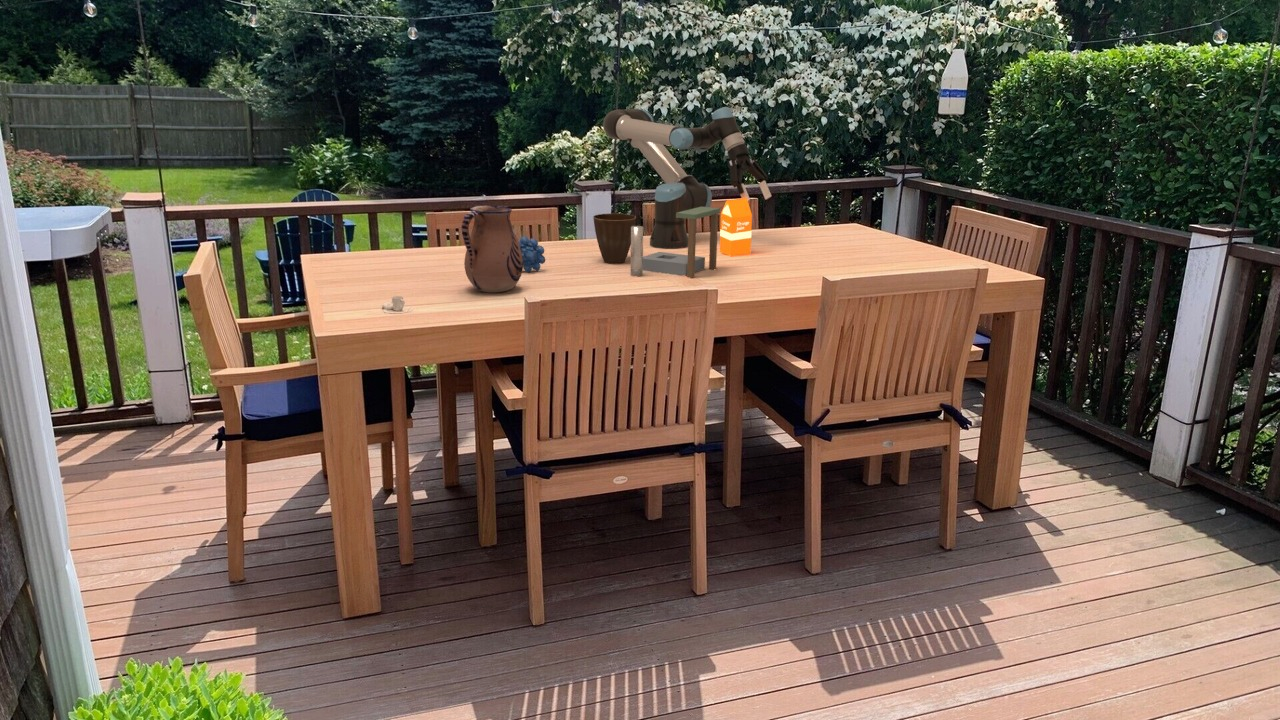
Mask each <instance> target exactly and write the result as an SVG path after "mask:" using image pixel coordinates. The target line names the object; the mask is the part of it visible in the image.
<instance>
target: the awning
mask: <svg viewBox="0 0 1280 720" xmlns="http://www.w3.org/2000/svg"><path fill="white" fill-rule="evenodd" d="M719 214H721V207H720V208H719V207H711V206H710V207H698V208H694V209H690V210H686V211H682V212H678V213H676V218H685V220H686V219H688V230H687V231H688V232H687V235H688V246H687V255H688V263H687V276H686V277H690V279H694V278H695V277H696V276H695V274H696V272H695V256H696V245H697V243H696V242H697V241H696V239H697V238H696V237H697V236H696V235H697V220H698V219H701V218H705V217H706V218H707V217H709V216H710V225H709V226H710V233H709V234H710V235H709V261H708V269H709V270H710V269H711V271H712V270H713V271H714V269H715V270H716V269H717V256H718V253H717V251H718V224H719V223H718V222H719ZM693 277H694V278H693Z"/></svg>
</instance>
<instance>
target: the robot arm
mask: <svg viewBox="0 0 1280 720" xmlns="http://www.w3.org/2000/svg"><path fill="white" fill-rule="evenodd" d="M711 118H712V121H711V122H709V123H708V124H707V125H706V126H702V127H683V126H678V125H677V126H676V125H671V124H666V123H659V122H654V118H653V116H652V114H651V113H650V112H648V111H647V110H645V109H642V108H641V109H640V108H632V109H614V110H611V111H609V112H608V113H607V114H606V115H605V117H604V118H603V122H602V127H603V131H604V133H605V135H607V136H608V137H609V138H610V139H613V140H621V141H627V142H628V143H629V144H630V145H631V147H632V148H635V149H638V150H639V151H640V152H641V154H643V156H644V157H645V159H646V160H647V161H648V162H649V164H650V165H651V166H652V168H653V169H654V170H655V171H656V172H657V174H658V175H659V176H660V177H661V179H662V180H663V182H664V183H661V184H659V185H658V186H657V187H656V188H655V194H654V226H653V229H652V232H651V235H650V237H649V246H651V247H654V248H659V249H660V248H661V249H681V248H682V247H683V248H686V246H687V247H688V232H687V229H686V228H687V227H686V225H685V224H686V218H676V213H678V212H682V211H686V210H690V209H694V208H698V207H711V205H712V198H713V193H712V191H711V188H710V187H709V186H708V185H707V184H706V183H704V182H698V180H697V179H696V178H695V177H694V176H693V175H692V174H687V173H686V172H685V170H684V169H683V168H682V166H681V165H680V164H679V163H678V162H677V160H676V159H675V158H674V156H673V155H672V154H671V153H670V151H669V150H668V149H667V148H666V147H665V146H669V147H673V148H674V149H675V150H682V151H683V150H684V151H685V150H690V149H695V151H698V152H700V153H703V152H705V151H707V150H710V149H711V148H712V147H713V146H714V145H716V144H717V143H719V142H720V141H722V144H723V146H724V149H725V151H726V153H727V157H728V159H729V161H728V162H727V164H728V168H729V176H730V185H731V186H733V188H736V189H737V191H738V194H739V196H740V197H741V198H740V199H742V198H747V201H748V202H749V201H751V198H750V196H749V192H748V191H747V189H746V185H745V184H744V183H743V182H742V181H743V176H744V175H743V173H744V172H747V173H749V174H750V175H751V176H752V177H753V178H754V179H755V180H757V182H758V185H759V187H760V191H761V192H762V195H763V197H764V200H769V199H770V198H771V197H772V193H771V192H770V188H769V186H768V183H767V180H768V179H769V177H768V175H767V174H766V172H765V171H764V169H763V168H762V167H761V166H760V164H759V163H758V161H757V160H756V157H754V156H752V157H749V156H748V155H749V153H750V151H749V149H748V147H747V144H746V143H745V140H744V137H743V136H742V133H741V130H740V128H739V126H738V124H737V121H736V118H735V116H734V114H733V112H732V109H731V108H730V107H728V106H724V107H720V108H718V109H716V110H715V111H713V112H712V113H711Z"/></svg>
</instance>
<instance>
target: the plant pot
mask: <svg viewBox="0 0 1280 720" xmlns="http://www.w3.org/2000/svg"><path fill="white" fill-rule="evenodd" d="M592 218H593V219H592V220H593V225H594V232H595V236H596V240H597V241H596V242H597V244H598V248H599V252H600V254H601V257H602V260H603V262H604V263H605V264H611V265H612V264H613V265H619V264H623V263H625V262H626V259H627V257H628V255H629V252H630V250H631V226H636V221H637V216H636V215H634V214H629V213H599V214H595V215H593V216H592Z"/></svg>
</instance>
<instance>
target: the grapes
mask: <svg viewBox="0 0 1280 720" xmlns="http://www.w3.org/2000/svg"><path fill="white" fill-rule="evenodd" d="M518 242H519V245H520V250H521V253H522V259H523V270H524V271H525V272H526V273H527V272H528V273H530V272H532V270H534V271H537V272H538V271H539V270H541V268H542V267H541V265H543V264H545V262H546V260H547V259H546V258H545V255H543V254H544V253H545V251H546V250H545V249H544V246H542V245H539V242H538V240H537V239H536V238H532V237H531V238H530V239H529V238H528V237H527V236H524V235H523V236H521V237H520V240H518Z"/></svg>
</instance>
